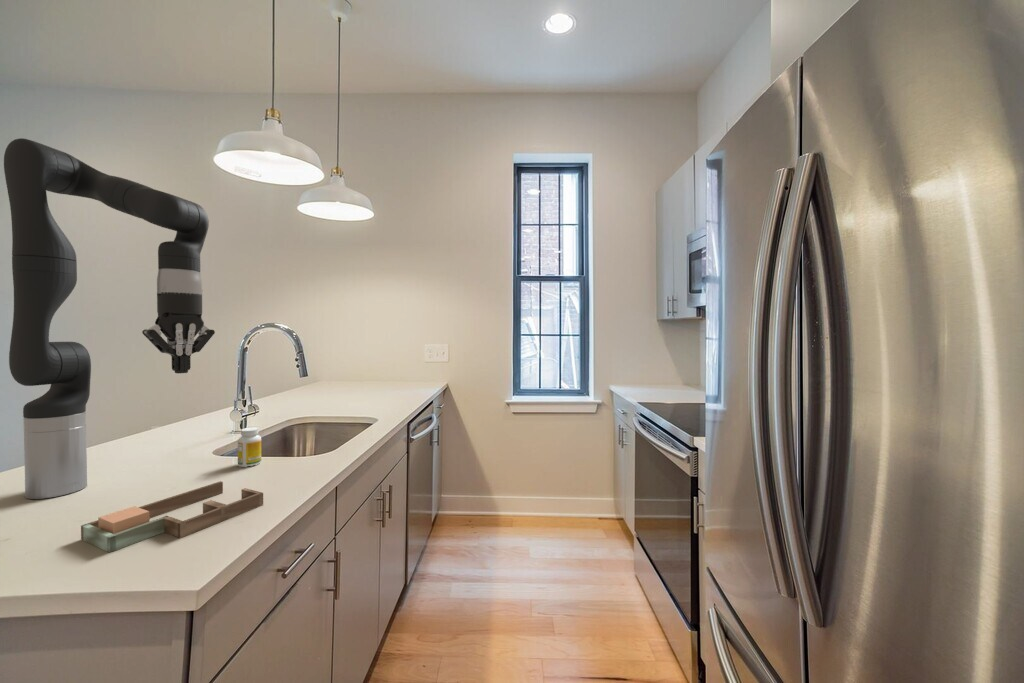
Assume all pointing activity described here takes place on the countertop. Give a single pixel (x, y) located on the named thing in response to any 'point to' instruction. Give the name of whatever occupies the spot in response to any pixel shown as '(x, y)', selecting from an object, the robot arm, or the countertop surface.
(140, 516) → the terracotta block
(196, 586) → the countertop surface
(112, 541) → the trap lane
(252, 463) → the supplement bottle
